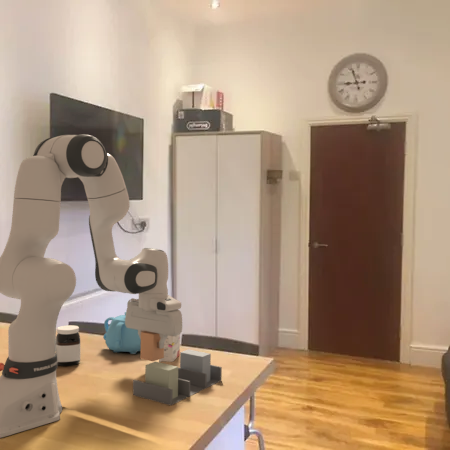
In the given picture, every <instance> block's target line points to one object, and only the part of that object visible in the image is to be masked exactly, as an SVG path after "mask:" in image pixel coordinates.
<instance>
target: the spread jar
mask: <svg viewBox="0 0 450 450" xmlns="http://www.w3.org/2000/svg"><path fill="white" fill-rule="evenodd" d="M79 332H80V327H79V326H78V325H73V324H72V325H61V326H58V327H56V349H55V353H56V354H57V366H59V367H72V366H76V365H78V364H79V363H80V362H81V336H80V333H79Z"/></svg>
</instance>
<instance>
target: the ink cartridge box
mask: <svg viewBox="0 0 450 450" xmlns="http://www.w3.org/2000/svg"><path fill="white" fill-rule="evenodd" d="M180 335H181V334H180ZM180 335H177V336H168V337H167V339H166V340H165V342H164V358H162V359H159V360H158V362H159V363H162V362H168V363H169V362H171V363H172V362H174V361H175V360H176V359H177V358H178V357H179V356H180V352H181V350H180V347H181V343H180V342H181V340H180V339H181V337H180Z"/></svg>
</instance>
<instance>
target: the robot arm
mask: <svg viewBox="0 0 450 450" xmlns="http://www.w3.org/2000/svg"><path fill="white" fill-rule="evenodd" d="M16 175H17V176H16V180H15V186H14V191H13V205H12V206H13V207H12V216H11V217H12V218H11V226H10V232H9V236H8V239H7V242H6V244H5V247H4V249H3V251H2V254H1V255H0V294H1V295H3V296H5V297H7V298H10V299H17V300H20V307H19V310H18V313H17V317H16V319H14V320H12V322H11V323H10V324H9V326H8V330H7V331H8V334H7V335H8V339H7V340H8V342H7V343H8V351H7V352H8V356H7V357H6V361H5V363H3V362H0V372H1V375H0V439H1V438H4V437H8V436H11V435H15V434H17V433H20V432H21V433H22V432H25V431H27V430H31V429H34V428H38V427H41V426H44V425H47V424H49V423H53V422H58V421H59V420H60V419H61V413H62V411H63V406H62V402H61V399H60V393H59V388H58V380H57V370H58V365H57V354H56V352H55V349H56V336H57V323H58V319H59V315H60V311H61V309H62V307H63V305H64V304H65V303H66V301H68V299H70V298H71V296H72V295H73V293H74V291H75V289H76V287H77V277H76V272H75V271H74V269H73V268H72V267H71V266H70V265H69V264H67V263H65V262H63V261H60V260H58V259H55V258H50V257H45V253H46V250H47V249H48V246H49V244H50V243H51V242H52V240H54V238H55V237H56V236H57V235H58V233H59V230H60V220H61V219H60V218H61V217H60V216H61V202H62V201H61V199H62V192H61V191H62V185H63V183H64V181H65V179H66V178H67V179H74V178H78V179H79V180H80V181H81V182H82V184H83V187H84V191H85V195H86V199H87V203H88V206H89V215H88V225H89V227H88V228H89V233H90V238H91V243H92V248H93V255H94V262H95V267H94V269H95V270H94V271H95V273H94V275H95V281H96V285H98V287H99V288H100V289H101V290H103V291H104V292H105V291H106V292H118V293H123V294H130V295H137V294H138V298H133V297H132V298H131V299H129V300H128V301H127V304H126V305H127V306H126V307H127V308H126V309H125V310H126V311H125V312H126V317H125V325H126V327H127V328H131V329H136V330H138V335H139V337H140V339H141V332H145V331H147V332H152V333H158V334H160V337H161V339H160V341H159V342H157V348H160V349H162V348H164V342H165V340H166V339H167V337H168V336H177V335H181V334H182V332H183V314H182V311H181V310H180V309H181V308H182V302H181V301H180V300H177V299H176V298H174V297H173V296H171V295H170V294H169V289H168V284H167V283H168V279H169V260H168V259H169V258H168V256H167V253H166V251H164V250H163V249H158V248H152V247H144V248H142V249H141V250H140V252H139V253H138V254H137V255H136V256H134V257H133V258H131V259H121V258H120V257H119V256H118V255H117V254H116V249H115V244H114V243H115V242H114V238H113V237H114V236H113V233H112V232H113V227H114V225H116V224H117V223H118V222H120V221H122V220H123V219H124V218H125V217H126V215H127V213H128V212H129V210H130V197H129V193H128V189H127V186H126V182H125V180H124V176H123V173H122V171H121V168H120V167H119V164H118V162H117V161H116V159H115V157H114V156H113V155H112V154H110V153H108V152H107V151H106V148H105V146H104V145H103V143H102V141H100V140H99V138H97V137H95V136H93V135H90V134H85V133H83V134H81V133H80V134H63V135H58V136H55V137H52V136H51V137H48V138H46V139H43V141H41V142H39V144H38V145H37V146H36V148H35V150H34V152H33V155H31V156H28V157H26V158H25V159H23V160H22V161H21V162H20V165H19V168H18V171H17V174H16Z"/></svg>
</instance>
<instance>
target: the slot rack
mask: <svg viewBox="0 0 450 450" xmlns="http://www.w3.org/2000/svg"><path fill="white" fill-rule="evenodd" d="M177 367H178V397H175V398H173V399H172V397H173V389H170V388H166V387H162V386H158V385H154V384H150V383H146V382H145V381H141V380H138V379H132V396H136V397H139V398H142V399H145V400H150V401H152V402H158V403H160V404H164V405H168V406H173V405H175V404H177V403H179V402H181V401H183V400H185V399H187V398H190V397H191V396H194V395H195V394H197V393H199V392H201V391H203V390H205V389H207V388H209V387H212V386H214V385H216V384H218V383H220V382H221V381H222V378H223V377H222V374H223V373H222V366H217V365H214V364H211V366H210V381H209V382H207V374H205V373H201V372H196V371H192V370H187V369H183V368H180V366H177Z"/></svg>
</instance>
